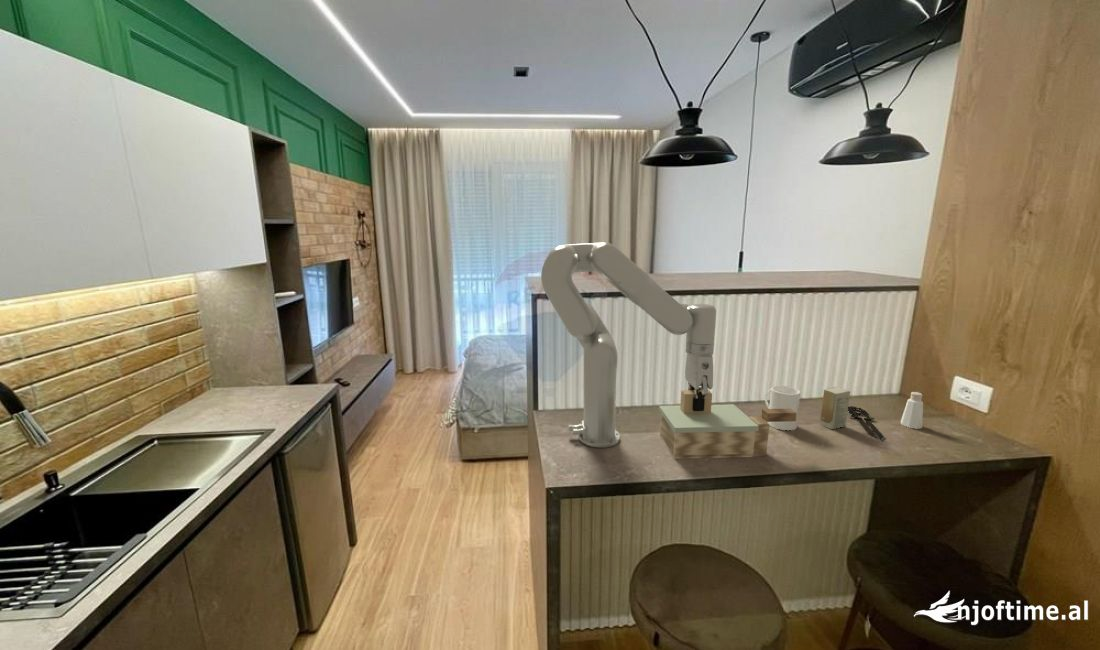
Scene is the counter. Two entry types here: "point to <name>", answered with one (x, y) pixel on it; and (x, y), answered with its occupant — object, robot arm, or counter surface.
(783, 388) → the mug
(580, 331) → the robot arm
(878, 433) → the knife
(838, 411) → the skincare box
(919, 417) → the pepper shaker
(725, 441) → the tan wooden open box
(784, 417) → the rectangular brown block
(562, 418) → the counter surface
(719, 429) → the lid
